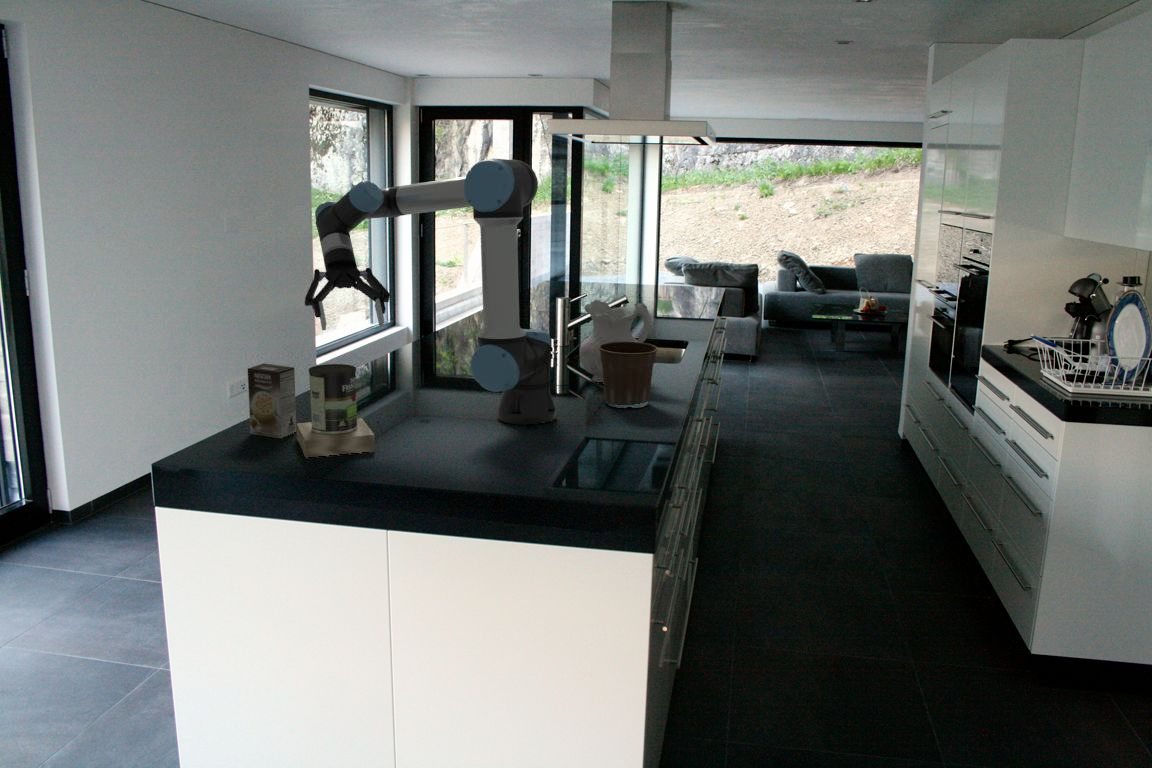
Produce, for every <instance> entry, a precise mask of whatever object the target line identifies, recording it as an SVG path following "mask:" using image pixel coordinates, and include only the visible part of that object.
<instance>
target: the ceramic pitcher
mask: <svg viewBox="0 0 1152 768" xmlns="http://www.w3.org/2000/svg"><path fill="white" fill-rule="evenodd" d="M634 306H635V307H634V309H633V311H632V312H630V313H629V312H627V311H626V310H625V308H623V307H612V308H611V307H610V304H609V303H607V302H606V301H601V300H599V299H594V300H593V301H590V303H589V304H588V303H587V304H585V305H584V311H585V312H586V313H587V314H589V315H590V317H591V320H592V325H593V327H592V332H591V334H590V335H589V336H587V337H586V338H585V339H583V340H582V341H581V342H580V343H581V344H580V346H579V359H580V363H581V364H582V366H583V368H584V369H585V371H586V372H588V373H590V374H591V375H592V374H593V376H592V378H591V380H594V381H597V382H603V369H602V362H601V356H600V350H599V349H598V346H599V345H601V344H604V343H609V342H639V343H644V342H645V341H646V339H647V337H648V334H649V333H650V330H651V314H650V312H649V309H648V306H647V305H646V304H644V303H642V302H641V303H639V302H638V303H634ZM636 317H642V320H643V327H642V329H641V331H640V334H638V335H639V336H638V339H636V338H635V337H634V336H633V334H632V332H631V328H632V327H631V326H632V323H633V322H632V321H633V320H634V319H635V318H636Z"/></svg>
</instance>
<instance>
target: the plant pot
mask: <svg viewBox="0 0 1152 768" xmlns="http://www.w3.org/2000/svg"><path fill="white" fill-rule="evenodd" d="M598 349H599V350H600V356H601V362H602V369H603V384H604V385H603V398H604V399H603V400H605V401H606V402H608V403H611V404H617V405H634V404H640V403H645V402H647V401H650V394H651V385H652V378H653V371H654V369H653V367H654V364H655V362H656V355H657V352H658V350H659V348H658V346H656V345H655V344H651V343H647V342H645V343H644V342H643V343H639V342H609V343H604V344H601V345H599V346H598Z"/></svg>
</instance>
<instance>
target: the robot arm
mask: <svg viewBox="0 0 1152 768" xmlns="http://www.w3.org/2000/svg"><path fill="white" fill-rule="evenodd" d="M538 190H539V181H538V176H537V175H536V172H535V171H534V170H533V168H532V167H531V166H530V165H529V164H527V163H526V162H524V161H522V160H518V159H507V158H506V159H505V158H504V159H503V158H489V159H482V160H481V161H478V162H476V163H475V164H474V165H472V166H471V168H470V169H469V170H468V171H467V173H466V175H465V176H459V177H454V178H453V177H452V178H446V179H439V180H432V181H427V182H425V181H424V182H418V183H411V184H404V185H398V186H397V185H396V186H389V187H381V188H380V187H378V185H377V184H376V183H374V182H371V181H370V180H369V179H367V180H366V179H364V180H361V181H359V182H358V183H357V184H355V185H354V186H352V187H351V189H350V190H348V191H347V193H345V195H343V196H342V197H340V198H339V200H338V201H335V200H329V201H328V200H327V201H326V202H324V203H320V204H319V205H318V206H317V208H316V209H315V211H314V216H315V226H316V230H317V232H318V233H317V234H318V238H319V243H320V247H321V248H320V249H321V254H322V257H323V263H324V268H325V271H320V269H318V268H316V269H314V273H313V279H312V281H311V284H310V286H309V288H308V291H307V292H306V295H305V298H304V306H305V307H309V306H311V307H312V310H313V313H314V316H315V317H316V318H319V320H320V326H321V330H322V331H326V329H327V319H326V314H325V308H324V304H323V301H324V300H325V299H326V298H327V296H328V295H329V294H330V293H331V292H333V290H334V289H335V288H337V289H338V290H339V289H344V288H345V289H351V288H354V289H355V290H356V291H360V292H361V293H362V294H363V295H365V296H366V297H368V299H370V300H372V301H373V302H375V303H374V308H375V313H376V318H377V322H378V326H379V328H383V327H384V324H385V323H384V322H385V318H384V315H386V314H385V313H386V304H385V303H389V301H390V297H391V293H390V292H389V291H388V290H387V289H386V287H385V286H384V285H382V282H380V281H379V280H378V278H377V277H376V276H375V275H374V274H373V272H372V269H371V267H366V268H365V270H364V269H363V270H360V269H358V264H357V261H356V256H355V253H354V252H355V251H354V247H353V243H352V239H351V234H350V233H351V231H353V230H354V229H355V228H357V226H358V225H360V224H361V223H362V222H363V221H365V220H367V219H368V220H369V219H381V218H399V217H402V216H407V215H408V216H409V215H416V214H423V213H430V212H439V211H448V210H454V209H462V208H464V209H465V208H471V207H472V212H473V213H472V214H473V220H474V221H475V222H476V223H477V224H478V225H479V228H480V255H481V256H480V257H481V284H482V286H481V287H482V291H481V292H482V314H483V317H482V319H483V328H482V329H481V330H480V331H479V332H478V333H477V348H476V350H475V351H474V353H473V354H472V356H471V359H470V370H471V375H472V377H473V378H474V380H475V381H476V383H478V384H479V386H481V387H482V388H484V390H487V391H490V392H496V393H498V392H502V394H501V397H500V399H499V403H498V405H497V408H496V409H497V411H496V418H497V420H498V421H500V422H504V423H507V424H512V425H521V426H523V425H524V426H528V425H527V424H535V425H539V424H538V423H543V422H548V421H551V420H553V419H555V420H556V418H557V413H556V412H557V410H556V406H555V403H554V399H553V395H552V392H551V390H550V378H551V377H550V374H551V348H552V344H551V335H550V334H549V332H548V331H545V330H541V329H530V328H528V329H527V328H521V325H520V302H519V301H520V300H519V299H520V297H519V296H520V295H519V294H520V291H519V258H518V257H519V256H518V255H519V252H518V250H519V249H518V225H519V223H520V222H521V221H522V220H523V218H524V207H526V206H528V205H530V203H532V202H533V200H535V199H534V198H535V197H536V195H537V193H538ZM362 278H363V279H362ZM323 279H326V281H327V283H325V285H324V286H323V287H322V288H321V290H320V291H319V292H318V293H317V294H316V292H317V289H318V286H319V284H320V282H321V281H323ZM364 280H365V281H366V282H365V281H364ZM315 294H316V296H315ZM555 417H556V418H555ZM553 421H554V420H553ZM551 422H552V421H551ZM548 423H549V422H548Z"/></svg>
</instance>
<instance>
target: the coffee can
mask: <svg viewBox="0 0 1152 768" xmlns="http://www.w3.org/2000/svg"><path fill="white" fill-rule="evenodd" d="M356 372H357V367H355V366H354V365H351V364H343V363H339V364H338V363H331V364H330V363H329V364H327V363H326V364H320V365H315V366H312V367H310V368H308V373H309V394H310V397H309V398H310V416H311V417H310V418H311V422H312V429H311V430H312V431H313V432H315V433H318V434H328V435H335V434H345V433H349V432H353V431H355V430H356V429H357V428H358V427H357V419H358V415H357V414H358V413H357V412H358V411H357V410H358V409H357V408H358V407H357V378H356V376H357V375H356Z"/></svg>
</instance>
